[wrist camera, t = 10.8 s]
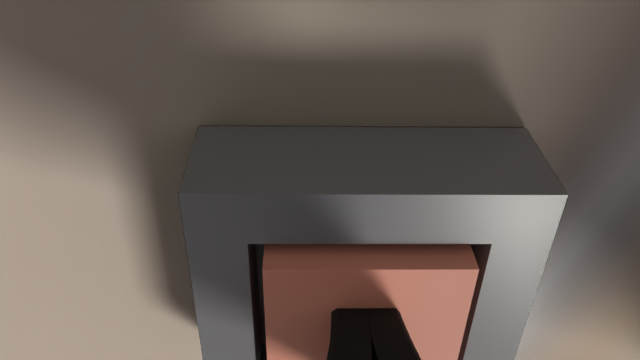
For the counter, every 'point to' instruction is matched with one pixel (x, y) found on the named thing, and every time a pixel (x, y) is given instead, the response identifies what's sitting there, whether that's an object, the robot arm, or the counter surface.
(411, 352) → the robot arm
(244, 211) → the button housing
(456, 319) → the button
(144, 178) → the counter surface
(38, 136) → the counter surface
